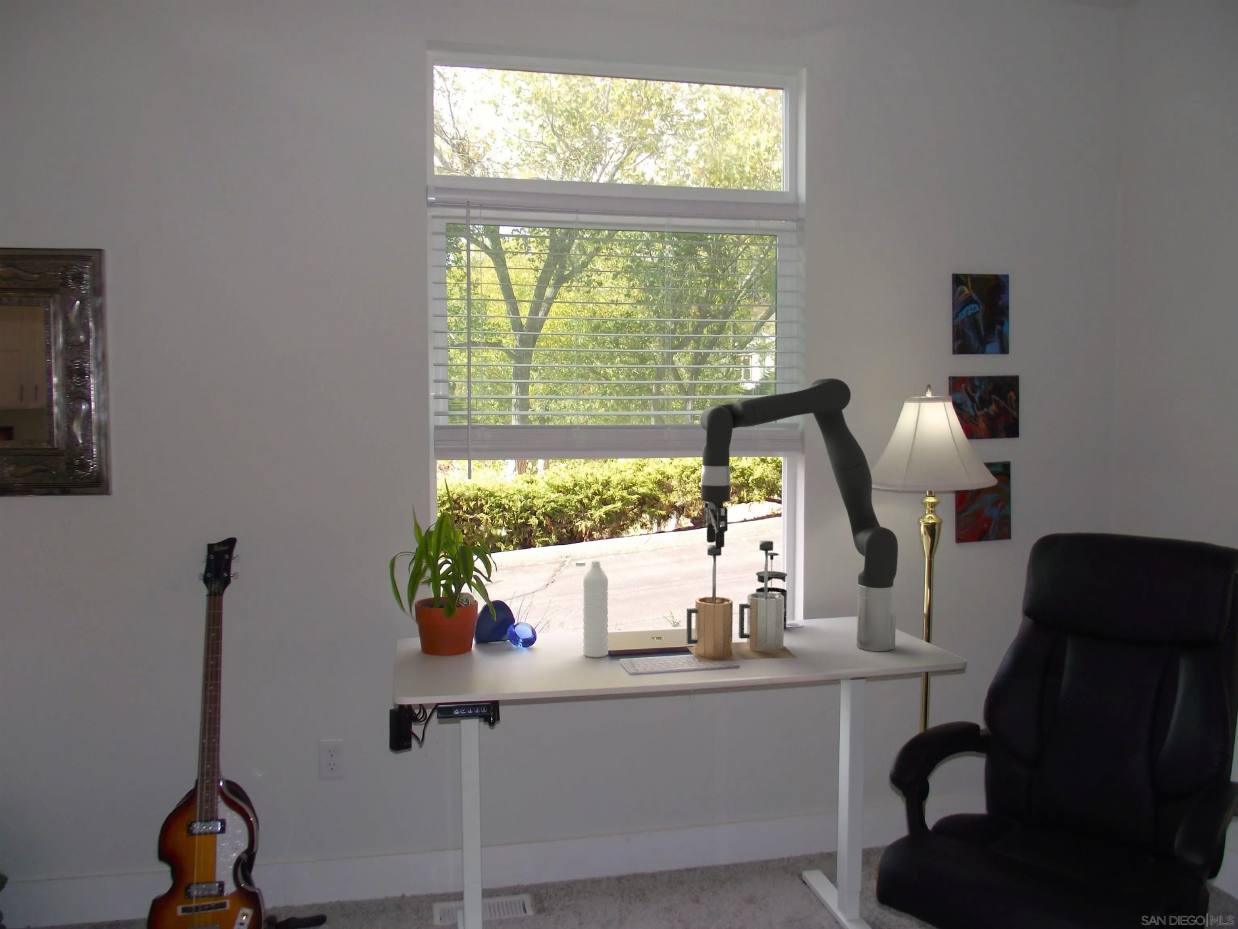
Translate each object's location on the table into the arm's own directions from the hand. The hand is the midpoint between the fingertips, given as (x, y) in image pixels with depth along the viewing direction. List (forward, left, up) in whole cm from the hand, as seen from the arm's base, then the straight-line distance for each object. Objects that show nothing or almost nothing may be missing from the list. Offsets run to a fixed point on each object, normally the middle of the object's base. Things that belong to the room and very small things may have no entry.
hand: (715, 544), depth 228 cm
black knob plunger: (+1, +3, -16) cm, 16 cm away
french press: (-23, -22, -30) cm, 43 cm away
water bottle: (+32, -5, -30) cm, 44 cm away
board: (-7, +1, -29) cm, 30 cm away
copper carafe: (+2, +3, -28) cm, 28 cm away
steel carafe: (-13, 0, -28) cm, 31 cm away
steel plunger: (-14, 0, -16) cm, 21 cm away
